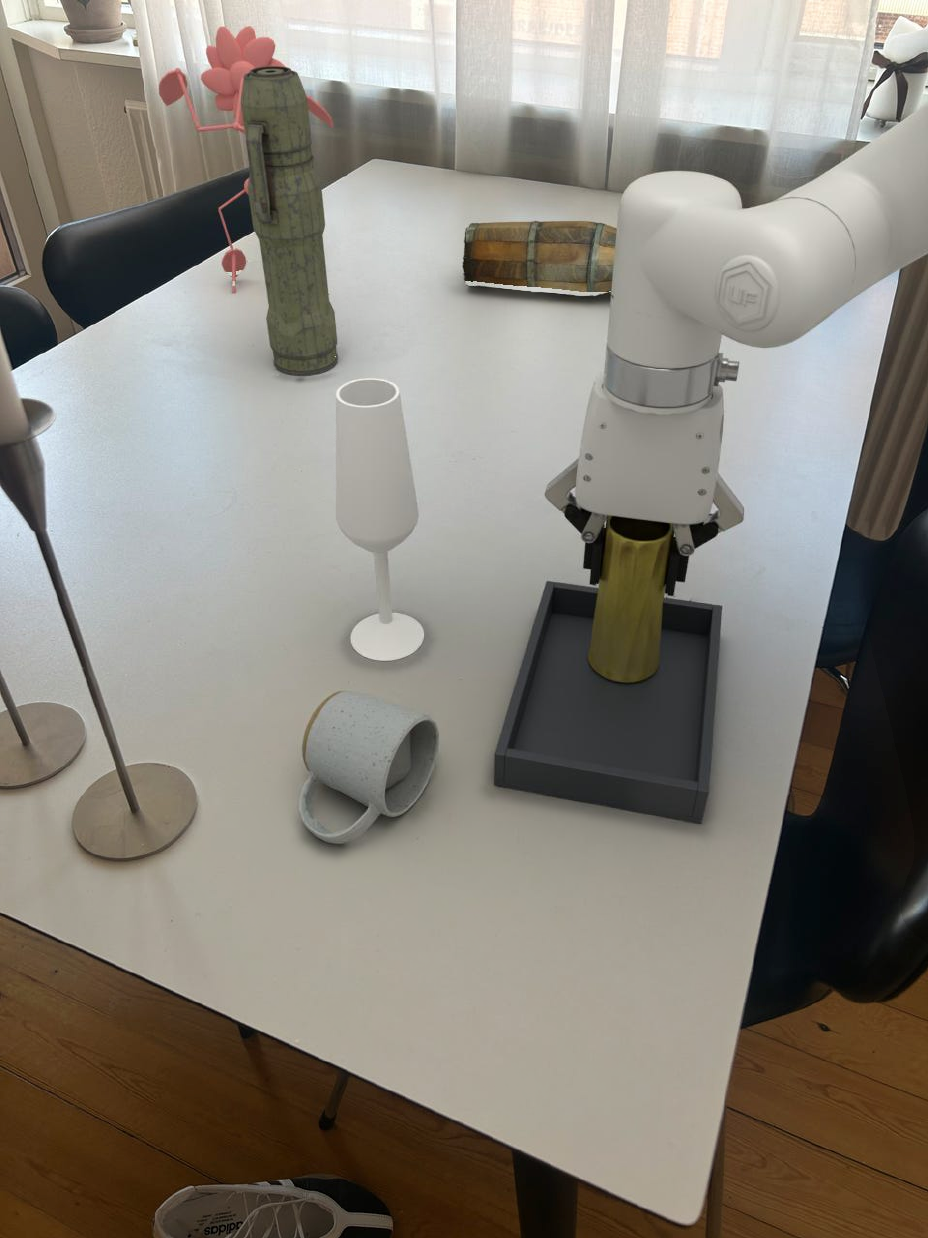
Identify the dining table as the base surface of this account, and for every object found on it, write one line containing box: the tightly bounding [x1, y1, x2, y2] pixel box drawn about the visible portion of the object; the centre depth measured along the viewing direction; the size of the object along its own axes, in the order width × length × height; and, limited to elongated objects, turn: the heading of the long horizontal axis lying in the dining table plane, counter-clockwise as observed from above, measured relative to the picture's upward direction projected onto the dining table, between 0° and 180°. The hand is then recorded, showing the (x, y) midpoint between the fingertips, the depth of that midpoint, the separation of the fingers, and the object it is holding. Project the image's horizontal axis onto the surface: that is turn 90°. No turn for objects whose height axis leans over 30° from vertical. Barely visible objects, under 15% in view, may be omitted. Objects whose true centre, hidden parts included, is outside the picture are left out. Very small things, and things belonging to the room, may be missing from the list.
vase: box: [588, 515, 675, 683], centre depth 79 cm, size 6×6×14 cm
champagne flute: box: [335, 377, 425, 662], centre depth 79 cm, size 7×7×24 cm
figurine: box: [158, 25, 335, 293], centre depth 144 cm, size 15×26×35 cm, turn 80°
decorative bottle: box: [462, 220, 617, 292], centre depth 144 cm, size 11×11×45 cm
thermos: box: [241, 66, 339, 377], centre depth 120 cm, size 9×12×35 cm
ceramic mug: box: [298, 690, 440, 845], centre depth 71 cm, size 11×8×8 cm
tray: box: [493, 580, 723, 825], centre depth 79 cm, size 16×22×4 cm
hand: (633, 578), depth 78 cm, fingers closed on vase, 5 cm apart
